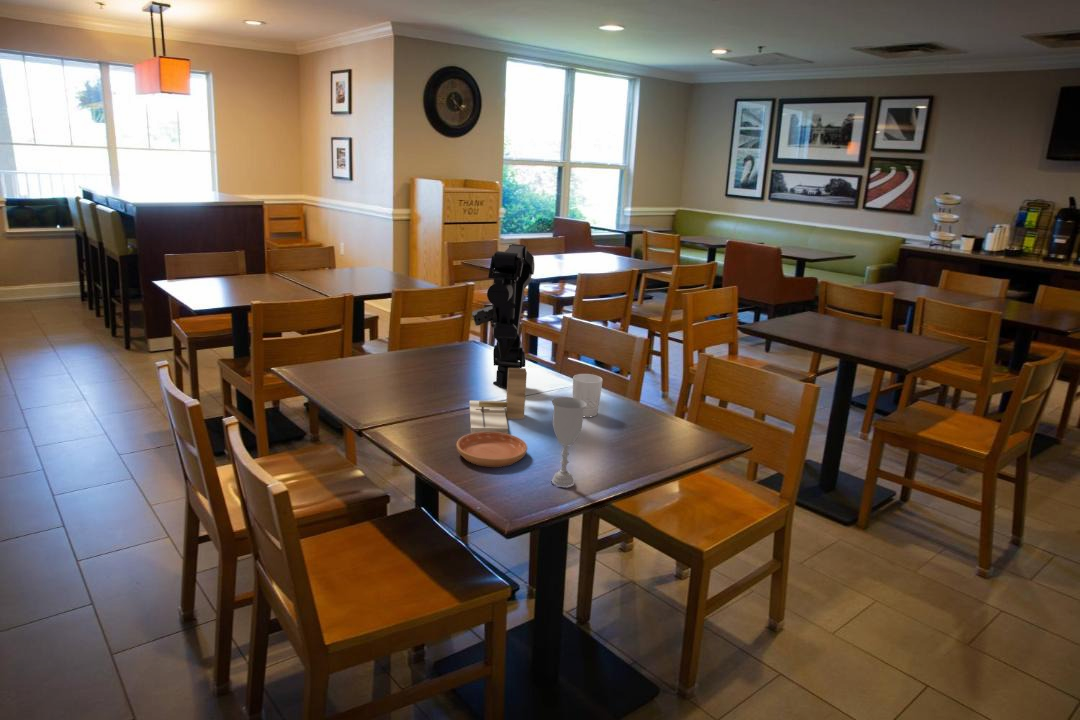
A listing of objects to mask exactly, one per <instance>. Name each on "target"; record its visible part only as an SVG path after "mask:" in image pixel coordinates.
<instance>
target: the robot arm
mask: <svg viewBox="0 0 1080 720" xmlns="http://www.w3.org/2000/svg"><path fill="white" fill-rule="evenodd" d="M489 264H490V267H489V270H488V276H487V277H488V279H493V284H492V285H490V286H489V288H487V291H486V297H487V300H488V301H489V303H490V304H491V305H489V306H486V307H483V308H479V309H476V310H473V311H472V312H471V315H472V318H473V321H474V324H475V326H476V327H477V326H481V325H482V324H485V323H490V326H491V327H492V337H493V339H495V340H496V344H495V345H494V346H493V350H492V351H493V353H492V354H493V366H496V367H497V370H496V375H495V376H496V377H495V378H496V379H495V380H496V381H495V380H494V381H493V383H492V384H493V385H496V386H498V387H500V388H503V389H506V390H507V379H508V368H524V367H526V353H525V350H524V347H523V343H522V341H521V338H520V336H519V331H520V324H521V317H522V309H523V303H524V294H525V289H526V288H527V287H528V285H529V284H530V283H531V282H532V276H533V275H534V274H535V257H534V256H533V255H532V253H530V252H529V251H528V247H527V245H525V244H520V243H519V244H518V243H517V244H515V243H511V244H509V246H508V248H507V249H505V250H504V251H502V250H495V252H494V254H493V255H491V259H490V263H489Z"/></svg>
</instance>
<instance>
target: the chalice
mask: <svg viewBox="0 0 1080 720" xmlns="http://www.w3.org/2000/svg"><path fill="white" fill-rule="evenodd" d="M551 403H552V406H553V415H552V417H553V418H552V427H553V430H554V434H555V436H556V438H557V441H558V443H559V445H562V447H563V448H562V452H561V453H560V454H561V455H562V458H561V460H559V462H560V463H561V468H560V469H559V470H557V471H556V472H555V473H554V475H553V477H552V479H551V481H552V482H553V483H554V484H556V485H560V486H568V485H571V484H573V481H574V478H573V475H572V473H571V472H570V471H569V470H567V465H568V464H569V463H570V462H569V461H568V456H569V455H570V453H569V446H572V445H573V444H574V443H575V441H576V440H577V438H578V436H579V435H580V432H581V430H582V428H583V423H584V422H583V420H584V417H583V411H584V408H585V407H586V405H587V404H586V402H585V401H583V400H580V399H577V398H573V396H572V397H571V396H559V397H558V396H557V397H555V398H553V399H551Z"/></svg>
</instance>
